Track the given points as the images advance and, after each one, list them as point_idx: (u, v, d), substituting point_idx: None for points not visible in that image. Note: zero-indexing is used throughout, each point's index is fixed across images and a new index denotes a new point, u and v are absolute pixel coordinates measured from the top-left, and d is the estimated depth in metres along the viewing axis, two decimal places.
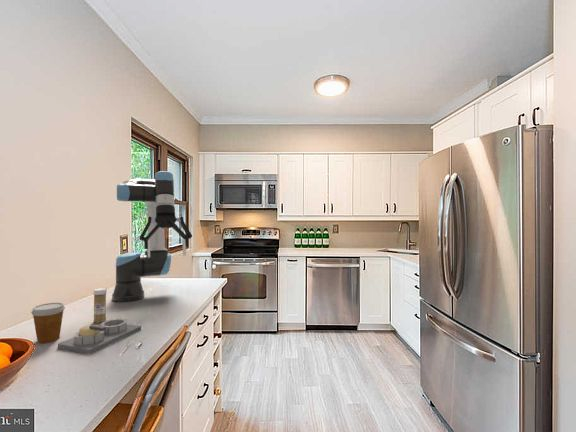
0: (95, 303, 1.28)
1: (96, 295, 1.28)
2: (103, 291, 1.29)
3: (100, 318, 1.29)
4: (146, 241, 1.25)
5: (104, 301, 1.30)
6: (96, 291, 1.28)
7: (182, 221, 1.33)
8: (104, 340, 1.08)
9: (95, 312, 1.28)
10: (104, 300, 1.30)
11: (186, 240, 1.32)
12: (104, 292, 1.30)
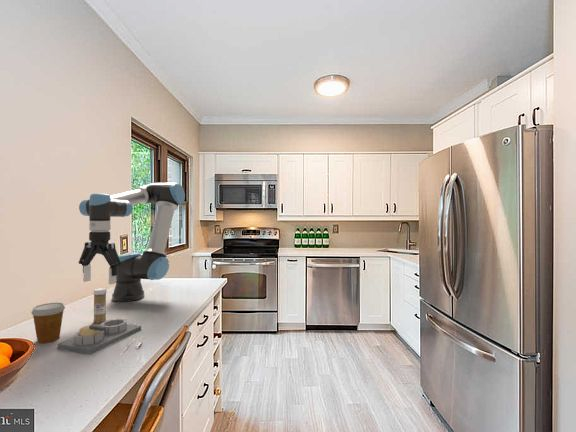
0: (95, 303, 1.28)
1: (96, 295, 1.28)
2: (103, 291, 1.29)
3: (100, 318, 1.29)
4: (84, 266, 1.31)
5: (104, 301, 1.30)
6: (96, 291, 1.28)
7: (109, 249, 1.27)
8: (104, 340, 1.08)
9: (95, 312, 1.28)
10: (104, 300, 1.30)
11: (112, 269, 1.27)
12: (104, 292, 1.30)
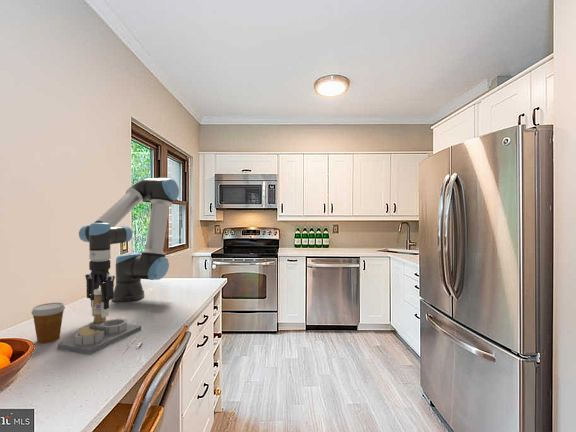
0: (95, 303, 1.28)
1: (96, 295, 1.28)
2: None
3: (100, 318, 1.29)
4: (92, 300, 1.31)
5: None
6: (96, 291, 1.28)
7: (107, 281, 1.27)
8: (104, 340, 1.08)
9: (95, 312, 1.28)
10: None
11: (105, 302, 1.29)
12: None
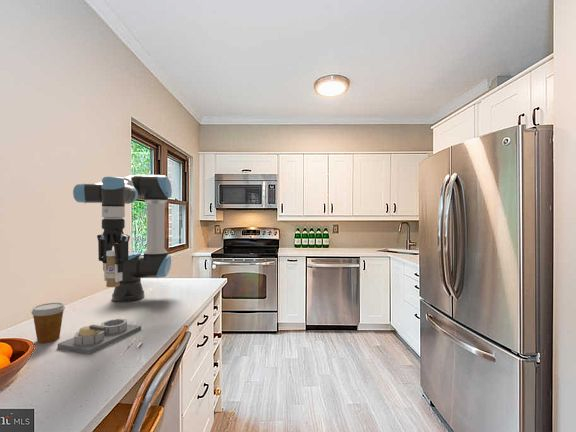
0: (108, 266, 1.16)
1: (109, 257, 1.15)
2: None
3: (114, 282, 1.16)
4: None
5: None
6: (109, 252, 1.15)
7: (122, 241, 1.15)
8: (104, 340, 1.08)
9: (108, 275, 1.16)
10: None
11: (119, 265, 1.16)
12: None
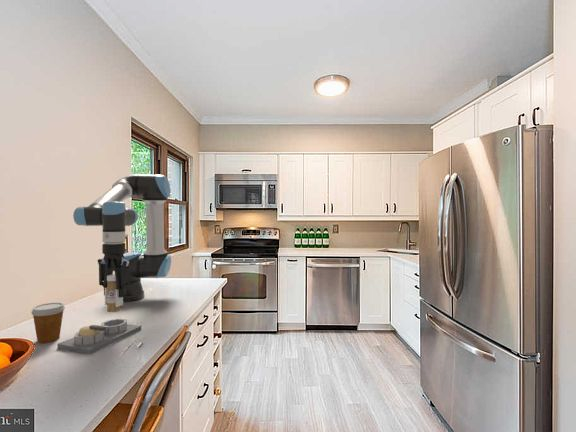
0: (109, 290, 1.16)
1: (110, 281, 1.15)
2: None
3: (114, 307, 1.16)
4: None
5: None
6: (110, 277, 1.15)
7: (123, 266, 1.15)
8: (104, 340, 1.08)
9: (108, 300, 1.15)
10: None
11: (119, 290, 1.16)
12: None
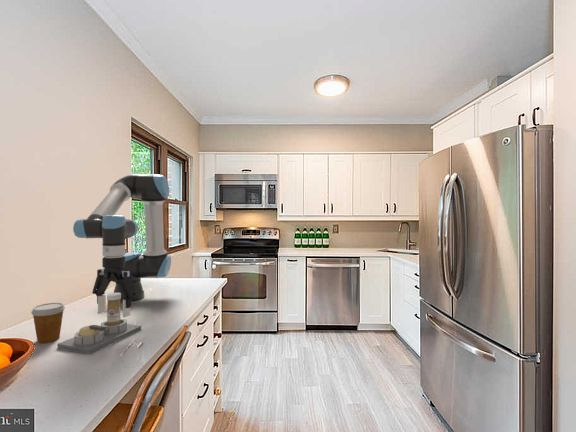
0: (109, 309, 1.16)
1: (110, 300, 1.16)
2: (117, 296, 1.17)
3: None
4: None
5: (118, 307, 1.17)
6: (110, 296, 1.16)
7: (124, 277, 1.14)
8: (104, 340, 1.08)
9: (109, 319, 1.16)
10: (118, 306, 1.17)
11: (127, 300, 1.15)
12: (119, 297, 1.17)
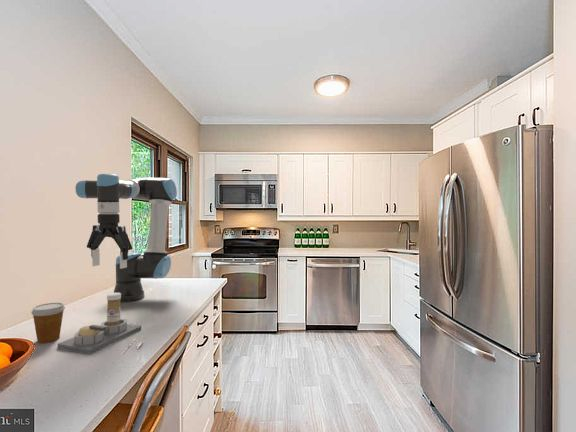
0: (109, 309, 1.16)
1: (110, 300, 1.16)
2: (118, 296, 1.17)
3: None
4: None
5: (118, 307, 1.17)
6: (110, 296, 1.16)
7: (119, 232, 1.21)
8: (104, 340, 1.08)
9: (109, 319, 1.16)
10: (118, 306, 1.17)
11: (123, 253, 1.22)
12: (119, 297, 1.17)
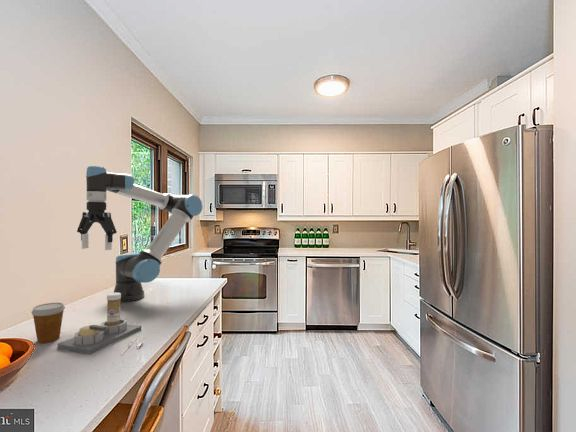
0: (109, 309, 1.16)
1: (110, 300, 1.16)
2: (117, 296, 1.17)
3: None
4: None
5: (118, 307, 1.17)
6: (110, 296, 1.16)
7: (105, 217, 1.36)
8: (104, 340, 1.08)
9: (109, 319, 1.16)
10: (118, 306, 1.17)
11: (108, 236, 1.36)
12: (118, 297, 1.17)
